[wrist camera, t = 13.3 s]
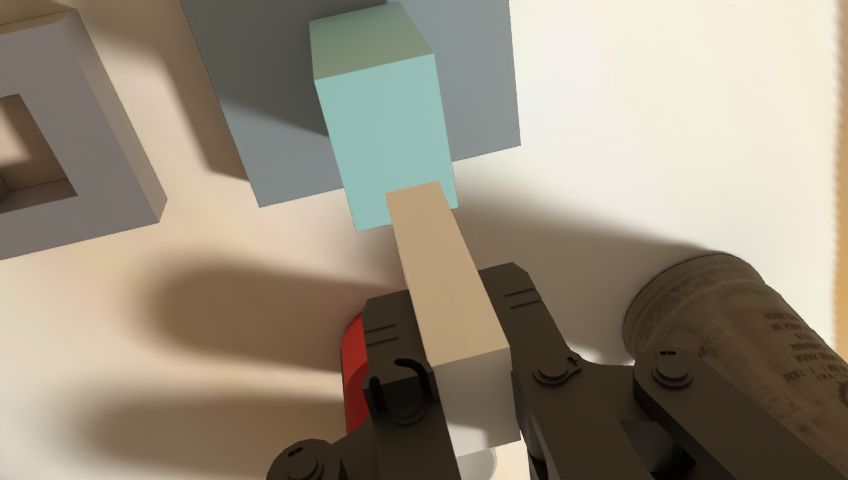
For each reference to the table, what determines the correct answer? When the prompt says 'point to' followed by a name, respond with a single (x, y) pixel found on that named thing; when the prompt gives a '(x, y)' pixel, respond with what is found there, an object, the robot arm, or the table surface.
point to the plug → (380, 107)
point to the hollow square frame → (72, 141)
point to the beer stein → (749, 346)
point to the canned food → (354, 368)
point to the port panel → (298, 99)
